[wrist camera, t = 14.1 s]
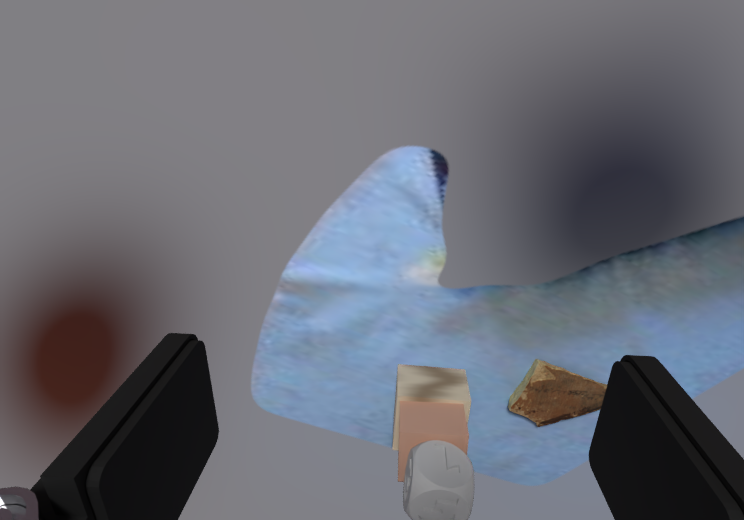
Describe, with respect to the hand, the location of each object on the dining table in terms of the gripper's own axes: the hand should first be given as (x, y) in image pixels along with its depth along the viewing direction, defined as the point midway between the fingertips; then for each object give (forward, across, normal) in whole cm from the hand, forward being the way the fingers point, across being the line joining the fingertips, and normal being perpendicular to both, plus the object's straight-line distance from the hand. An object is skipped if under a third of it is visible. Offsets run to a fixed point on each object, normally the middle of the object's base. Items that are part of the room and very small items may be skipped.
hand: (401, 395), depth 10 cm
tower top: (+26, -4, +25) cm, 36 cm away
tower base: (+31, -4, +25) cm, 40 cm away
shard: (+31, -17, +23) cm, 42 cm away
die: (+22, -4, +25) cm, 34 cm away
